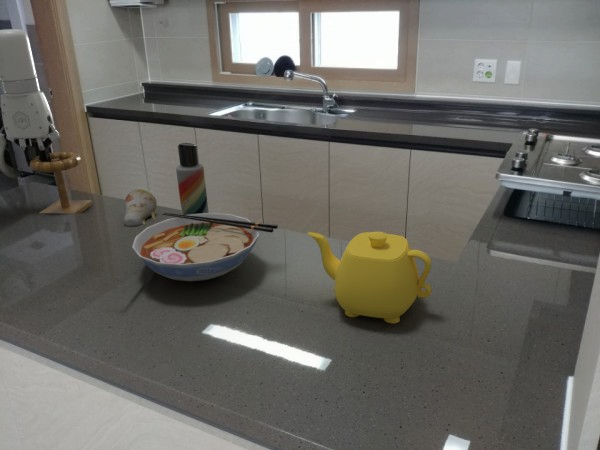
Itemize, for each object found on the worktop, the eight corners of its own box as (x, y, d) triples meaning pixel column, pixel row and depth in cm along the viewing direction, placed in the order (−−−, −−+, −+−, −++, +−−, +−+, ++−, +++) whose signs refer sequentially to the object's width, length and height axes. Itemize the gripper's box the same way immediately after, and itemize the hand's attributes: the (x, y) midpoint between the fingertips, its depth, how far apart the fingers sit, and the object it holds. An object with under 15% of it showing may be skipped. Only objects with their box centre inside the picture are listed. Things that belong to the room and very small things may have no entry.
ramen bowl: (106, 287, 96) (98, 246, 93) (183, 238, 115) (178, 202, 112) (225, 316, 86) (220, 271, 83) (287, 256, 105) (285, 218, 102)
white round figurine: (116, 234, 119) (109, 190, 120) (139, 235, 128) (132, 195, 129) (146, 226, 117) (138, 182, 118) (167, 228, 127) (160, 188, 128)
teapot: (424, 338, 79) (429, 260, 74) (296, 317, 85) (292, 244, 80) (435, 292, 90) (440, 222, 85) (322, 276, 97) (320, 211, 92)
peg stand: (39, 217, 129) (26, 164, 124) (59, 204, 138) (47, 154, 132) (74, 217, 128) (63, 164, 123) (92, 204, 137) (82, 154, 131)
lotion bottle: (179, 232, 118) (167, 143, 110) (200, 225, 121) (190, 138, 114) (194, 239, 114) (182, 148, 106) (215, 231, 118) (206, 142, 110)
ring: (21, 173, 124) (18, 163, 123) (47, 160, 134) (45, 150, 133) (66, 173, 123) (64, 163, 122) (89, 160, 133) (88, 150, 132)
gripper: (-23, 90, 119) (-2, 170, 126) (45, 89, 117) (63, 169, 125) (-2, 85, 126) (17, 161, 133) (63, 83, 124) (79, 160, 131)
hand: (39, 164), depth 129 cm, fingers closed on ring, 2 cm apart
